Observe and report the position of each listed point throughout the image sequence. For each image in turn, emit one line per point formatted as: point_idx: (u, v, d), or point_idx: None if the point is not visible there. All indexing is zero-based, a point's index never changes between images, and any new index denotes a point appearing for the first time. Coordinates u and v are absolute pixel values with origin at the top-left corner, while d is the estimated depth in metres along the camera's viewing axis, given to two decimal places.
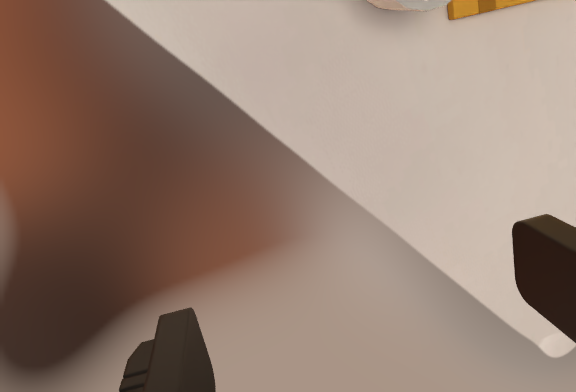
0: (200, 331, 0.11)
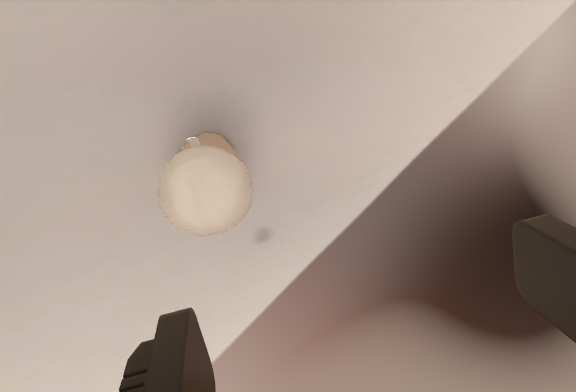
0: (200, 331, 0.11)
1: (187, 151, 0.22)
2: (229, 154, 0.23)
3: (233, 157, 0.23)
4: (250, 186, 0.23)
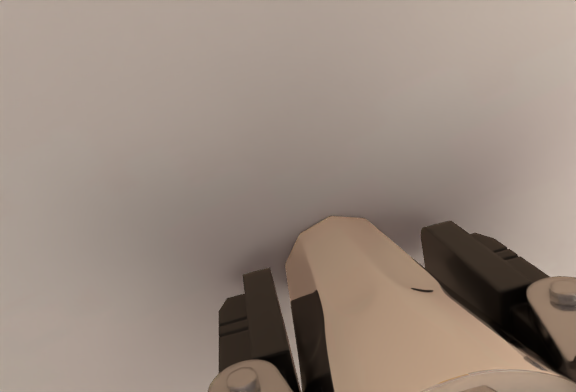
0: None
1: None
2: None
3: None
4: None
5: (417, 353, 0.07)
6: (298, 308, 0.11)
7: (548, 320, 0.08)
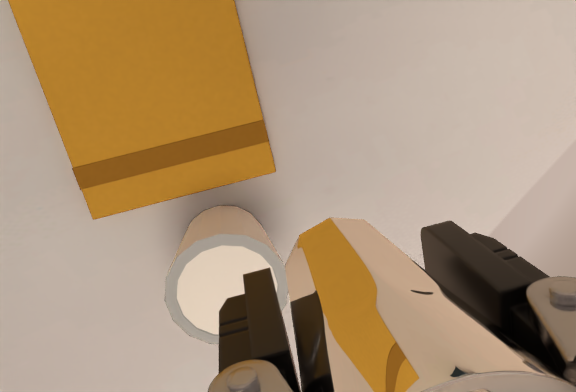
0: None
1: None
2: None
3: None
4: None
5: (416, 356, 0.07)
6: (298, 310, 0.11)
7: (548, 320, 0.08)
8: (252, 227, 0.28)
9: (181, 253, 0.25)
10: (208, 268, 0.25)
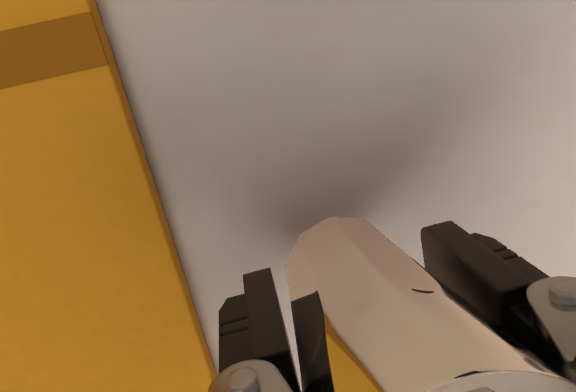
0: None
1: None
2: None
3: None
4: None
5: (417, 355, 0.07)
6: (298, 309, 0.11)
7: (548, 320, 0.08)
8: None
9: None
10: None
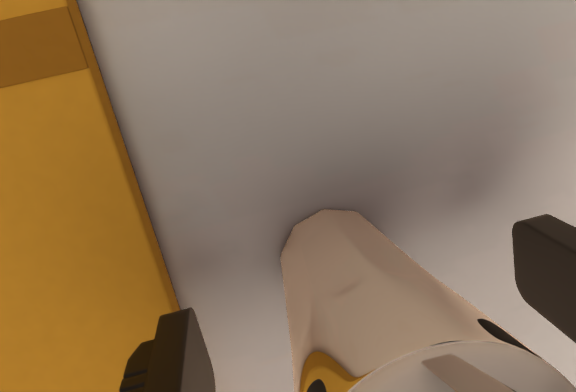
0: (200, 331, 0.11)
1: (409, 379, 0.06)
2: (544, 368, 0.07)
3: (555, 375, 0.07)
4: None
5: (393, 328, 0.07)
6: (291, 294, 0.11)
7: None
8: None
9: None
10: None
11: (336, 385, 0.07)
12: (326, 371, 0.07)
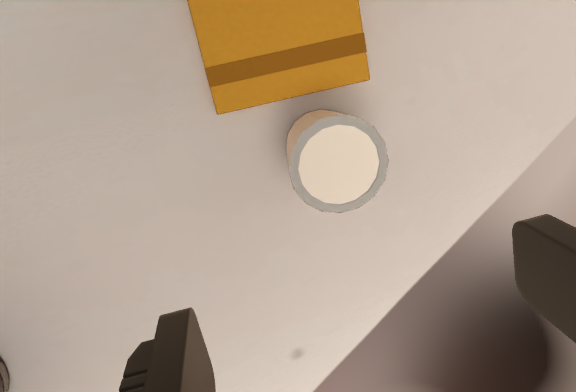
0: (200, 331, 0.11)
1: None
2: None
3: None
4: None
5: None
6: None
7: None
8: None
9: (305, 130, 0.31)
10: (325, 144, 0.31)
11: None
12: None
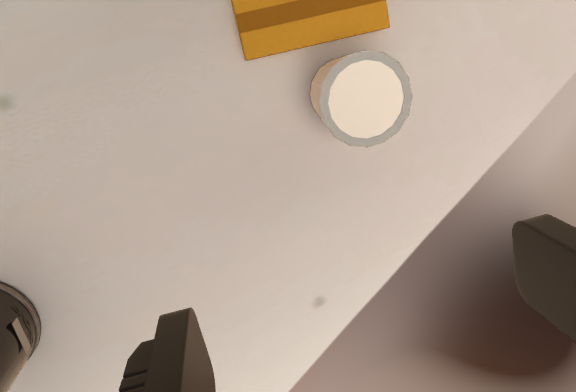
0: (200, 331, 0.11)
1: None
2: None
3: None
4: None
5: None
6: None
7: None
8: None
9: (335, 65, 0.33)
10: (353, 79, 0.33)
11: None
12: None
